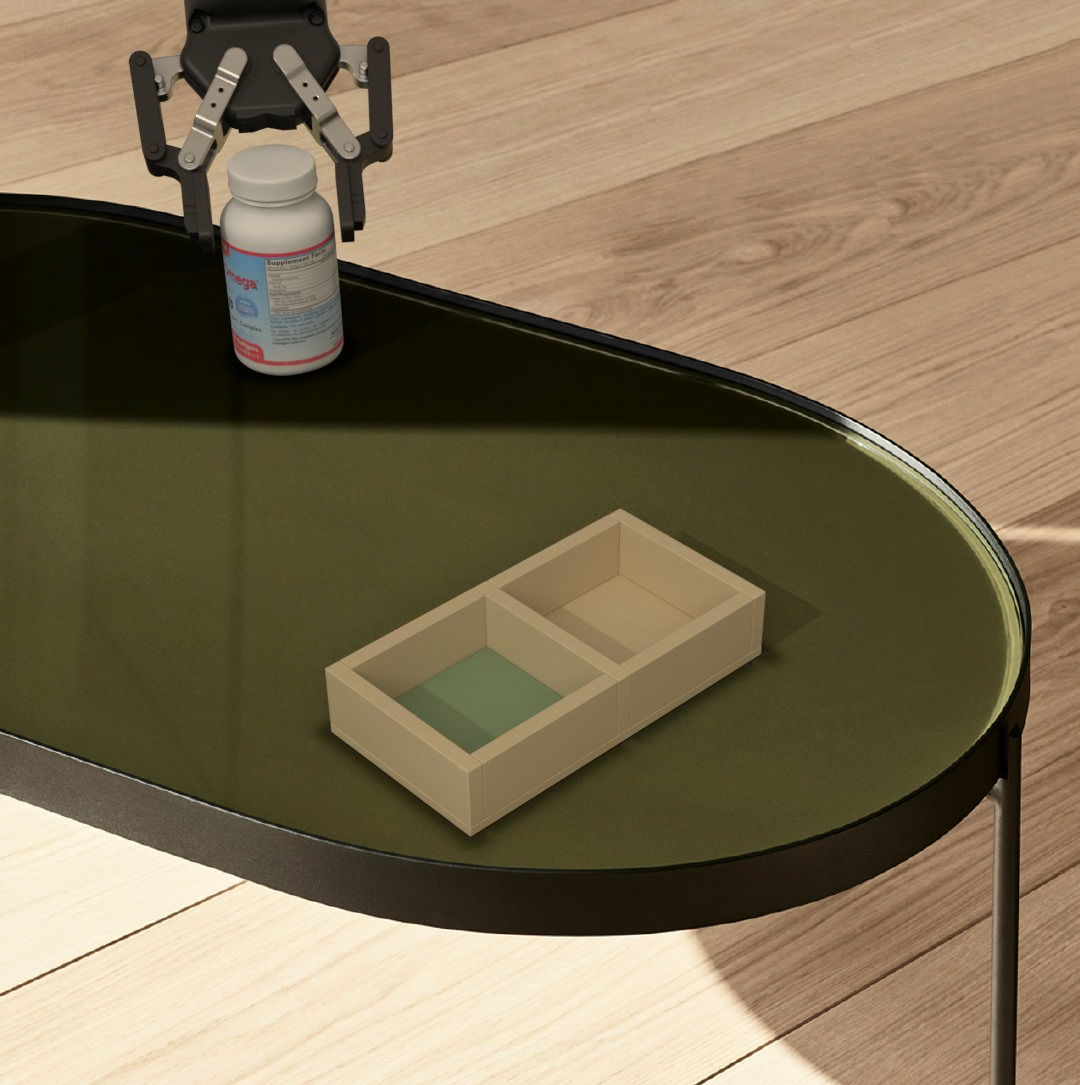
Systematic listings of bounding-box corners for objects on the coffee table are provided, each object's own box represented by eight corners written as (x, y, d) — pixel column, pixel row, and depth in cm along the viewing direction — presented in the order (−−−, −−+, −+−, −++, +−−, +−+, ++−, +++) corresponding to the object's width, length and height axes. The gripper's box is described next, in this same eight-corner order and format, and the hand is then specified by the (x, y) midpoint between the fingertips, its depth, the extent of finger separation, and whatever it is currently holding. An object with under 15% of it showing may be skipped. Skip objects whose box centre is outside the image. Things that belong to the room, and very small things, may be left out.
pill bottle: (224, 337, 111) (200, 147, 103) (328, 318, 112) (311, 130, 105) (249, 388, 106) (226, 194, 99) (357, 368, 108) (342, 175, 101)
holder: (470, 837, 79) (467, 772, 77) (330, 731, 84) (324, 668, 82) (761, 654, 88) (766, 591, 86) (619, 568, 93) (620, 507, 91)
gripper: (104, -86, 100) (132, 228, 99) (384, -101, 102) (415, 208, 100) (122, -17, 108) (148, 275, 106) (382, -33, 109) (412, 256, 108)
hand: (278, 242), depth 103 cm, fingers open, 7 cm apart
